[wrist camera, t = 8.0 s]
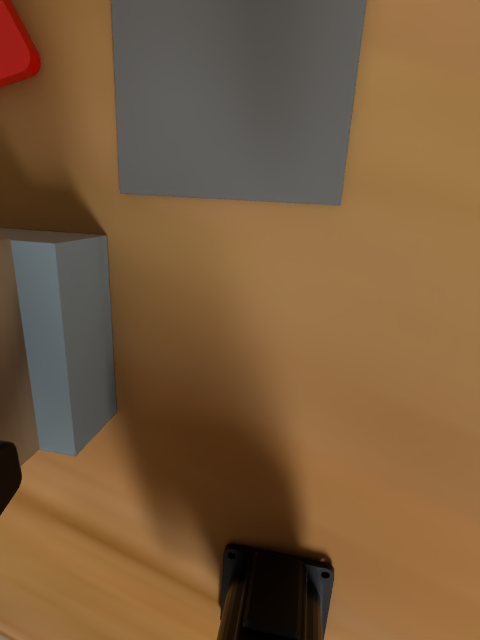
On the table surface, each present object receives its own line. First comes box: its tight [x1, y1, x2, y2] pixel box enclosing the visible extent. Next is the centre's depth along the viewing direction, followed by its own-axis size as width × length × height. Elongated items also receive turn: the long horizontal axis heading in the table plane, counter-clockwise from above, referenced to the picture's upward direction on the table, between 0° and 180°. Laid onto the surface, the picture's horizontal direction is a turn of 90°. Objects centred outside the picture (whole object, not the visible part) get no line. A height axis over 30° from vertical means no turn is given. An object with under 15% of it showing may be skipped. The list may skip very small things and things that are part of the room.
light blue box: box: [0, 228, 117, 456], centre depth 19 cm, size 10×10×4 cm
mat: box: [111, 0, 366, 205], centre depth 15 cm, size 10×10×1 cm
